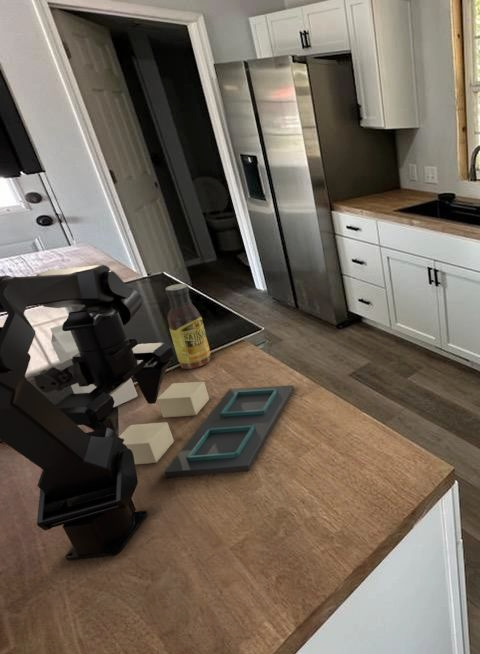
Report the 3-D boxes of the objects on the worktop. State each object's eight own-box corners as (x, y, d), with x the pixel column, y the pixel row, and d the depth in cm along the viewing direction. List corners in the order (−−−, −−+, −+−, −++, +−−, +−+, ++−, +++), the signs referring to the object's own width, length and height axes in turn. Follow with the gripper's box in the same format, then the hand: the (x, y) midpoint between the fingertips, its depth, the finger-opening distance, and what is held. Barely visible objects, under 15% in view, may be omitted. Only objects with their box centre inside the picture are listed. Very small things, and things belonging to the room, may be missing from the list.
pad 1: (156, 462, 71) (148, 442, 70) (117, 466, 71) (109, 445, 69) (174, 441, 76) (167, 422, 74) (138, 444, 75) (130, 424, 73)
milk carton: (79, 405, 84) (42, 323, 77) (122, 386, 90) (92, 309, 83) (94, 417, 81) (58, 333, 74) (138, 396, 87) (108, 317, 80)
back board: (249, 470, 70) (246, 461, 70) (165, 477, 69) (162, 468, 68) (294, 389, 91) (292, 382, 90) (230, 393, 89) (228, 385, 88)
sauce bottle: (195, 372, 95) (172, 294, 88) (173, 368, 97) (148, 291, 89) (219, 357, 101) (199, 283, 94) (198, 353, 103) (176, 280, 95)
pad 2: (196, 415, 82) (190, 397, 81) (163, 417, 82) (156, 399, 80) (209, 399, 87) (204, 381, 85) (178, 401, 86) (172, 383, 85)
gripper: (93, 316, 72) (122, 389, 78) (-19, 381, 55) (28, 469, 61) (163, 314, 74) (186, 386, 79) (75, 376, 57) (112, 462, 62)
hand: (134, 420), depth 70 cm, fingers open, 9 cm apart
